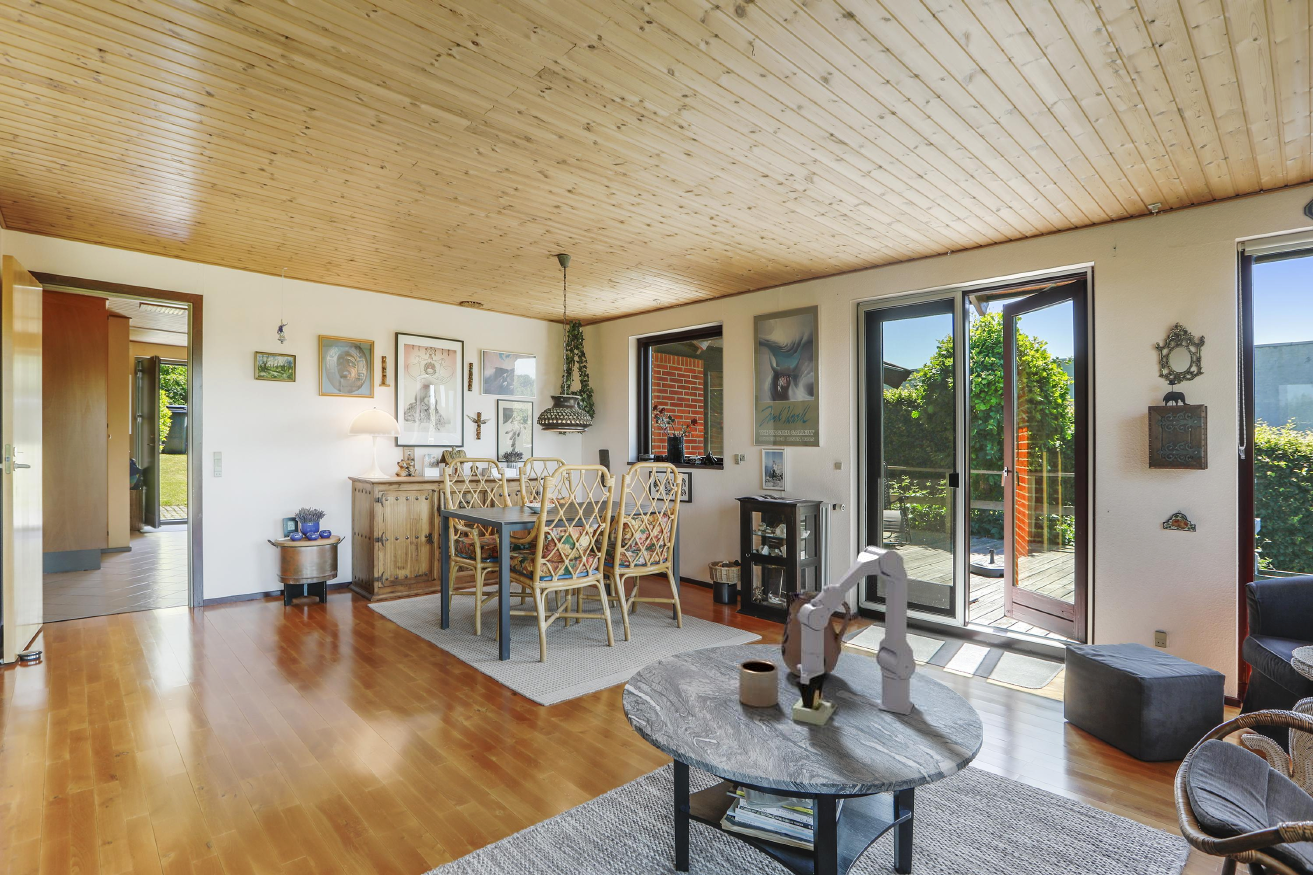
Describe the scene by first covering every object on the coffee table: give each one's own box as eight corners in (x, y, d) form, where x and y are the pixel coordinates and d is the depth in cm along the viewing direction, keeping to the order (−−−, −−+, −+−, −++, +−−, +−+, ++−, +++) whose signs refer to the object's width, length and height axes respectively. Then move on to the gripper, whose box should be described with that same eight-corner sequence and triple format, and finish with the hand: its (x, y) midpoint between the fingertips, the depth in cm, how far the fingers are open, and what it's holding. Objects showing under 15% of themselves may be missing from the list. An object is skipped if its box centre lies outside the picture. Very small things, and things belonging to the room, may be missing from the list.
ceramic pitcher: (784, 662, 211) (785, 586, 212) (851, 669, 205) (851, 591, 205) (777, 680, 195) (778, 597, 195) (849, 688, 188) (850, 603, 189)
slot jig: (807, 700, 179) (807, 688, 179) (838, 707, 174) (838, 694, 175) (792, 718, 166) (792, 705, 166) (824, 726, 162) (824, 712, 162)
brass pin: (808, 713, 170) (808, 687, 170) (819, 715, 169) (819, 689, 169) (805, 717, 167) (805, 690, 167) (817, 720, 166) (817, 692, 166)
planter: (731, 697, 181) (731, 663, 181) (762, 691, 186) (762, 657, 186) (754, 711, 171) (754, 675, 171) (786, 704, 176) (786, 669, 176)
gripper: (805, 641, 177) (805, 690, 176) (789, 655, 164) (788, 709, 164) (831, 645, 173) (830, 696, 173) (816, 660, 160) (816, 715, 160)
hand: (812, 702), depth 168 cm, fingers open, 7 cm apart
